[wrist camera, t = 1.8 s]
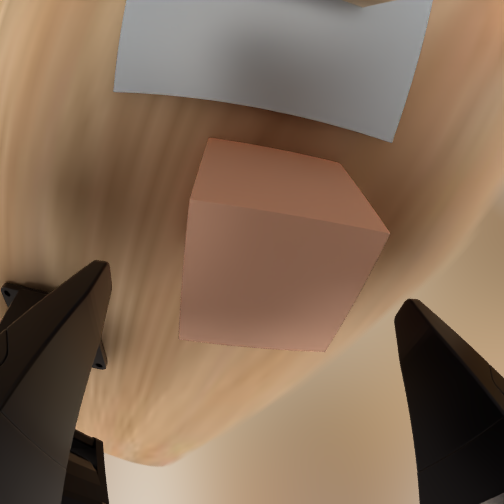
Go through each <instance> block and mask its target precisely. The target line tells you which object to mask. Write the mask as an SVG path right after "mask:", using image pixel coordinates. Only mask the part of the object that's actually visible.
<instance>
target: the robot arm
mask: <svg viewBox="0 0 504 504" xmlns="http://www.w3.org/2000/svg"><path fill="white" fill-rule="evenodd" d="M111 290H112V282H111V273H110V266H109V263H108V262H106V261H99V260H94V261H92V262H91V263H90V264H88V265H87V266H86V267H84V268H83V269H81V270H80V271H79V272H77V273H76V274H75V275H73V276H72V277H71V278H69V279H68V280H67V281H65V282H64V283H63V284H61V285H60V286H59V287H57V288H56V289H55V290H53V291H52V292H51V293H48V292H44V291H39V290H35V289H31V288H27V287H22V286H18V285H14V284H10V283H4V285H3V286H2V288H1V292H2V294H3V297H4V299H5V302H6V304H7V306H8V309H7V311H6V313H5V315H4V316H3V318H2V320H1V322H0V504H109V500H108V492H107V484H106V474H105V464H104V451H103V442H102V441H101V440H99V439H97V438H94V437H92V438H91V437H89V436H87V435H86V434H84V433H82V432H80V431H78V430H76V429H75V427H76V422H77V418H78V414H79V410H80V407H81V403H82V399H83V395H84V392H85V388H86V385H87V381H88V378H89V375H90V371H91V368H97V369H102V370H103V369H106V366H107V360H106V356H105V352H104V349H103V345H102V341H101V335H102V330H103V325H104V321H105V316H106V312H107V308H108V303H109V299H110V295H111ZM394 323H395V331H396V338H397V345H398V353H399V361H400V366H401V371H402V376H403V381H404V386H405V391H406V397H407V402H408V408H409V413H410V420H411V426H412V433H413V440H414V448H415V455H416V464H417V472H418V473H417V475H418V487H419V500H420V504H504V378H503V377H502V376H501V375H500V374H499V373H498V372H497V371H496V370H495V369H494V368H493V367H492V366H491V365H489V364H488V362H487V361H485V360H484V358H482V357H481V356H480V355H479V354H478V353H477V352H476V351H475V350H474V349H473V348H472V347H471V346H470V345H469V344H468V343H467V342H466V341H464V340H463V339H462V338H461V337H460V336H459V335H458V334H457V333H456V332H455V331H454V330H452V329H451V328H450V327H449V326H448V325H447V324H446V323H445V322H443V321H442V320H441V319H440V318H439V317H438V316H437V315H436V314H434V313H433V312H432V311H431V310H430V309H429V308H428V307H426V306H425V305H424V304H423V303H422V302H421V301H420V300H418V299H407V300H406V301H405V302H404V304H403V305H402V307H401V308H400V310H399V311H398V313H397V314H396V316H395V320H394Z"/></svg>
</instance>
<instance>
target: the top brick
mask: <svg viewBox="0 0 504 504" xmlns="http://www.w3.org/2000/svg"><path fill="white" fill-rule="evenodd" d="M389 235H390V232H389V231H388V229H387V228H386V226H385V225H384V223H383V222H382V220H381V219H380V217H379V216H378V215H377V213H376V212H375V210H374V209H373V207H372V206H371V205H370V203H369V202H368V200H367V199H366V198H365V196H364V195H363V193H362V192H361V191H360V189H359V188H358V187H357V185H356V184H355V182H354V181H353V180H352V178H351V177H350V176H349V174H348V173H347V172H346V171H345V169H344V168H343V167H342V165H341V164H340V163H338V162H334V161H330V160H326V159H322V158H317V157H313V156H309V155H304V154H299V153H295V152H290V151H285V150H280V149H275V148H270V147H264V146H259V145H254V144H248V143H242V142H236V141H230V140H223V139H217V138H210V137H209V138H208V141H207V144H206V147H205V150H204V154H203V157H202V160H201V163H200V166H199V170H198V173H197V176H196V180H195V183H194V186H193V190H192V193H191V197H190V201H189V210H188V220H187V229H186V240H185V251H184V262H183V275H182V288H181V304H180V321H179V339H180V340H188V341H196V342H204V343H212V344H221V345H231V346H241V347H252V348H264V349H278V350H294V351H314V352H325V351H326V350H327V348H328V347H329V345H330V343H331V342H332V340H333V338H334V337H335V335H336V334H337V332H338V330H339V328H340V327H341V325H342V323H343V322H344V320H345V318H346V317H347V315H348V313H349V311H350V310H351V308H352V306H353V304H354V303H355V301H356V299H357V297H358V295H359V294H360V292H361V290H362V288H363V286H364V284H365V282H366V281H367V279H368V277H369V275H370V273H371V271H372V269H373V267H374V265H375V263H376V262H377V260H378V258H379V256H380V254H381V252H382V250H383V248H384V246H385V244H386V241H387V239H388V237H389Z"/></svg>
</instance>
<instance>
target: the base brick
mask: <svg viewBox="0 0 504 504" xmlns="http://www.w3.org/2000/svg"><path fill="white" fill-rule="evenodd" d="M343 1H346V2H349V3H352V4H354V5H357V6H360V7H362V8H363V7H367V6H372V5H376V4H380V3H385V2H390V1H395V0H343Z"/></svg>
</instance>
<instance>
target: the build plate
mask: <svg viewBox="0 0 504 504" xmlns="http://www.w3.org/2000/svg"><path fill="white" fill-rule="evenodd" d="M432 1H433V0H395V1H390V2H385V3H380V4H376V5H372V6H367V7H363V8H362V7H360V6H357V5H354V4H352V3H349V2H346V1H343V0H127V1H126V6H125V11H124V16H123V22H122V28H121V34H120V40H119V47H118V54H117V62H116V71H115V80H114V91H113V92H127V93H145V94H159V95H170V96H180V97H189V98H198V99H206V100H213V101H220V102H226V103H233V104H239V105H245V106H250V107H256V108H261V109H266V110H271V111H276V112H281V113H285V114H290V115H294V116H299V117H303V118H307V119H311V120H315V121H319V122H323V123H327V124H331V125H334V126H338V127H342V128H345V129H349V130H352V131H355V132H359V133H362V134H365V135H369V136H372V137H375V138H378V139H381V140H384V141H387V142H390V143H392V141H393V138H394V135H395V133H396V130H397V127H398V124H399V121H400V118H401V115H402V112H403V109H404V106H405V102H406V99H407V96H408V93H409V90H410V86H411V83H412V80H413V76H414V73H415V69H416V66H417V62H418V59H419V55H420V51H421V48H422V44H423V40H424V36H425V32H426V28H427V24H428V19H429V15H430V11H431V6H432Z"/></svg>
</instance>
